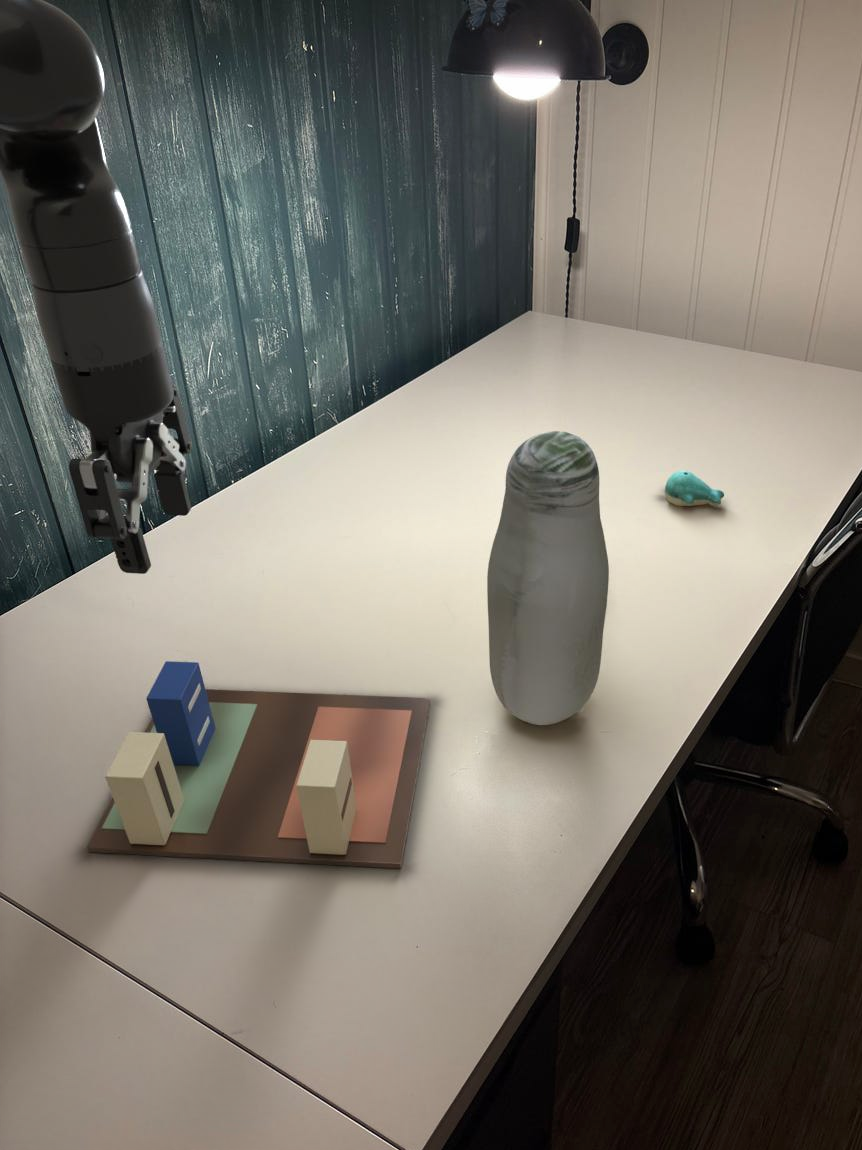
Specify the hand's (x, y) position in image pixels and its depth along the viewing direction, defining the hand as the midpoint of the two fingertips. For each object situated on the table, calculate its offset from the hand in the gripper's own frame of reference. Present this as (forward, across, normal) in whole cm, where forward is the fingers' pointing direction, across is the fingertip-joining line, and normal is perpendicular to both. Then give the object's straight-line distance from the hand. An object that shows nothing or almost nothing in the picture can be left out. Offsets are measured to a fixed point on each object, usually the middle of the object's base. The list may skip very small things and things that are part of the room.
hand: (158, 540), depth 76 cm
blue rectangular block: (+21, +2, -1) cm, 21 cm away
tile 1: (+21, +11, 0) cm, 24 cm away
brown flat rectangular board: (+21, +4, +7) cm, 23 cm away
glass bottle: (+22, -7, +31) cm, 38 cm away
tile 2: (+21, +11, +15) cm, 27 cm away
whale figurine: (+22, -48, +47) cm, 71 cm away
